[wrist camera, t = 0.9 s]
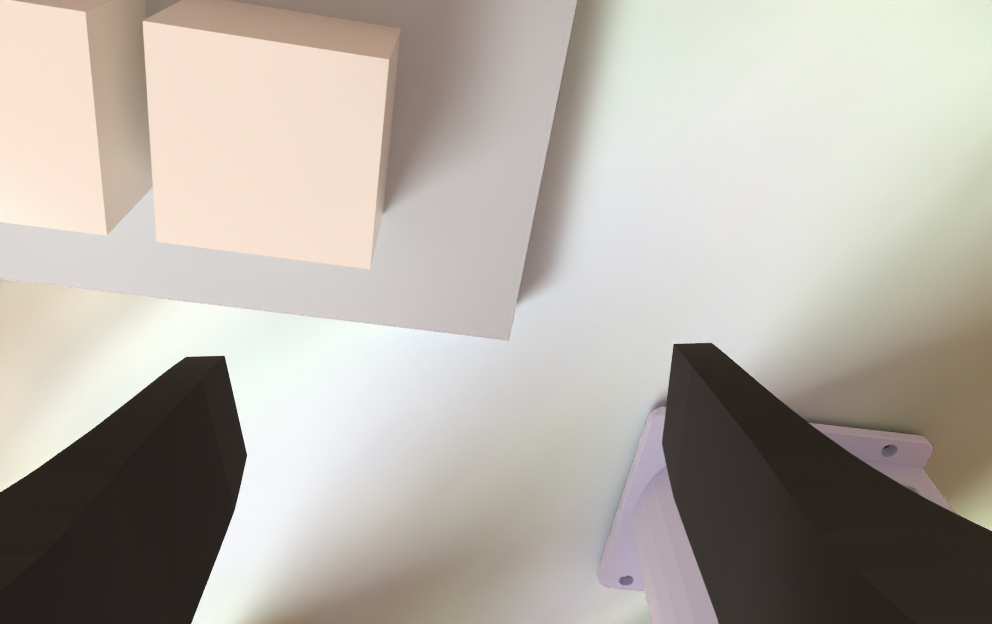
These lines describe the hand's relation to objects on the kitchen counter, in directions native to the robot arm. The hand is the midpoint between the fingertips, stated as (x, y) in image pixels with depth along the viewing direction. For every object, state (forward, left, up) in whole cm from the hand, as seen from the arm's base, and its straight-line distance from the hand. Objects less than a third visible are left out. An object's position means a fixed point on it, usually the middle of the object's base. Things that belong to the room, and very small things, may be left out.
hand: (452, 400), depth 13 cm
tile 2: (+10, -2, -8) cm, 13 cm away
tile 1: (+4, -2, -8) cm, 9 cm away
